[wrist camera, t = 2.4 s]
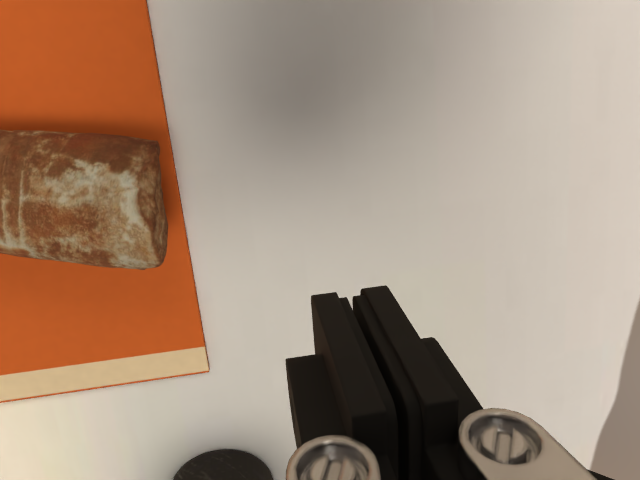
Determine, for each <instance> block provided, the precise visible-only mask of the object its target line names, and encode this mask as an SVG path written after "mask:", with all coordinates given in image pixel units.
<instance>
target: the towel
mask: <svg viewBox="0 0 640 480" xmlns="http://www.w3.org/2000/svg"><path fill="white" fill-rule="evenodd" d="M0 130H7V131H13V130H38V131H54V132H70V133H101V134H110V135H121V136H129V137H135V138H141V139H147V140H155V141H158V143H159V146H160V155H159V161H160V168H161V187H162V191H163V202H164V207H165V213H166V217H167V222H168V239H167V252H166V256H165V259H164V262H163V263H162V265H160V266H159V267H156V268H146V269H145V270H139V269H127V268H108V267H98V266H91V265H85V264H78V263H71V262H62V261H54V260H41V259H34V258H26V257H18V256H13V255H8V254H2V253H0V403H2V402H9V401H16V400H22V399H29V398H36V397H43V396H49V395H56V394H63V393H70V392H77V391H83V390H90V389H97V388H104V387H110V386H117V385H124V384H131V383H138V382H144V381H151V380H158V379H165V378H172V377H178V376H185V375H192V374H199V373H205V372H209V363H208V357H207V352H206V346H205V340H204V334H203V328H202V322H201V317H200V311H199V305H198V299H197V293H196V287H195V282H194V276H193V270H192V264H191V258H190V252H189V246H188V241H187V235H186V229H185V223H184V217H183V211H182V206H181V200H180V194H179V188H178V182H177V176H176V171H175V165H174V159H173V153H172V147H171V141H170V136H169V130H168V124H167V118H166V112H165V106H164V101H163V95H162V89H161V83H160V77H159V71H158V66H157V60H156V54H155V48H154V42H153V36H152V31H151V25H150V19H149V13H148V7H147V1H146V0H0Z"/></svg>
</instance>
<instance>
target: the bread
mask: <svg viewBox="0 0 640 480" xmlns="http://www.w3.org/2000/svg"><path fill="white" fill-rule="evenodd" d="M159 155H160V146H159V143H158V141H155V140H147V139H141V138H135V137H129V136H121V135H110V134H101V133H70V132H54V131H38V130H13V131H7V130H0V253H2V254H8V255H13V256H18V257H26V258H34V259H41V260H54V261H62V262H71V263H78V264H85V265H91V266H98V267H108V268H127V269H139V270H145V269H146V268H156V267H159V266H160V265H162V263H163V262H164V259H165V256H166V252H167V239H168V222H167V217H166V213H165V207H164V202H163V191H162V187H161V168H160V161H159Z"/></svg>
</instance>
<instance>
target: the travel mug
mask: <svg viewBox="0 0 640 480" xmlns="http://www.w3.org/2000/svg"><path fill="white" fill-rule="evenodd" d="M173 480H273V478H272V475H271V473H270V471H269V469H268V467H267V466H266V465H265V464H264V463H263V462H262V461H261V460H260V459H258V458H257V457H255V456H253V455H251V454H249V453H246V452H242V451H237V450H217V451H211V452H208V453H204V454H202V455H199V456H197V457H195V458H193V459H192V460H190V461H189V462H187V463H186V464H185V465H184V466H183V467H182V468H181V469H180V470H179V471H178V472H177V474H176V475H175V477H174V479H173Z"/></svg>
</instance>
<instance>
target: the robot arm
mask: <svg viewBox="0 0 640 480" xmlns="http://www.w3.org/2000/svg"><path fill="white" fill-rule="evenodd" d="M311 306H312V319H313V332H314V345H315V355H308V356H302V357H295V358H288V359H286V371H287V380H288V390H289V399H290V407H291V414H292V421H293V428H294V434H295V440H296V446H297V450H296V451H295V452H294V454H293V455H292V457H291V458H290V459H289V462H288V466H287V470H286V480H614V479H611V478H608V477H606V476H603V475H600V474H598V473H595V472H593V471H590V470H587V469H586V468H585V467H584V466H582V465H581V464H580V463H579V462H578V461H577V460H576V459H575V458H574V457H573V456H572V455H571V454H570V453H569V452H568V451H567V450H566V449H565V448H564V447H563V446H562V445H561V444H560V443H559V442H557V441H556V440H555V439H554V438H553V437H552V436H551V435H550V434H549V433H548V432H547V431H546V430H545V429H544V428H543V427H542V426H541V425H539V424H538V423H537V422H535V421H534V420H533V419H531V418H529V417H527V416H525V415H523V414H521V413H519V412H515V411H511V410H507V409H499V408H488V409H483V408H482V406H481V405H480V403H479V402H478V400H477V399H476V397H475V396H474V394H473V393H472V392H471V390H470V389H469V387H468V386H467V384H466V383H465V381H464V380H463V378H462V377H461V375H460V374H459V372H458V371H457V370H456V368H455V367H454V365H453V364H452V362H451V361H450V359H449V358H448V356H447V355H446V353H445V352H444V350H443V349H442V348H441V346H440V345H439V343H438V342H437V341H436V340H435V338H432V337H430V338H423V339H420V337H419V336H418V334H417V332H416V331H415V329H414V328H413V326H412V324H411V323H410V321H409V320H408V318H407V317H406V315H405V313H404V312H403V310H402V309H401V307H400V305H399V304H398V302H397V301H396V299H395V298H394V296H393V294H392V293H391V291H390V290H389V288H388V287H387V286H379V287H371V288H364V289H361V294H360V296H353V310H352V308H351V306H350V303H349V301H348V299H347V297H345V298H339V297H338V295H337V293H336V292H334V293H326V294H319V295H312V296H311Z"/></svg>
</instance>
